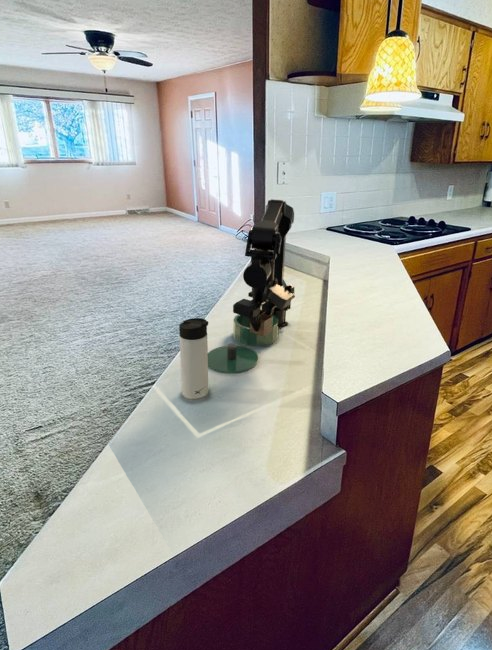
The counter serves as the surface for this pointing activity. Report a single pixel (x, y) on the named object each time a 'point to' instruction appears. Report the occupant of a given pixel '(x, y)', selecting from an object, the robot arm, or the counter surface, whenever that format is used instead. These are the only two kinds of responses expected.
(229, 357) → the lid
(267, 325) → the block
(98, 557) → the counter surface
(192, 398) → the travel mug
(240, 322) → the pot
